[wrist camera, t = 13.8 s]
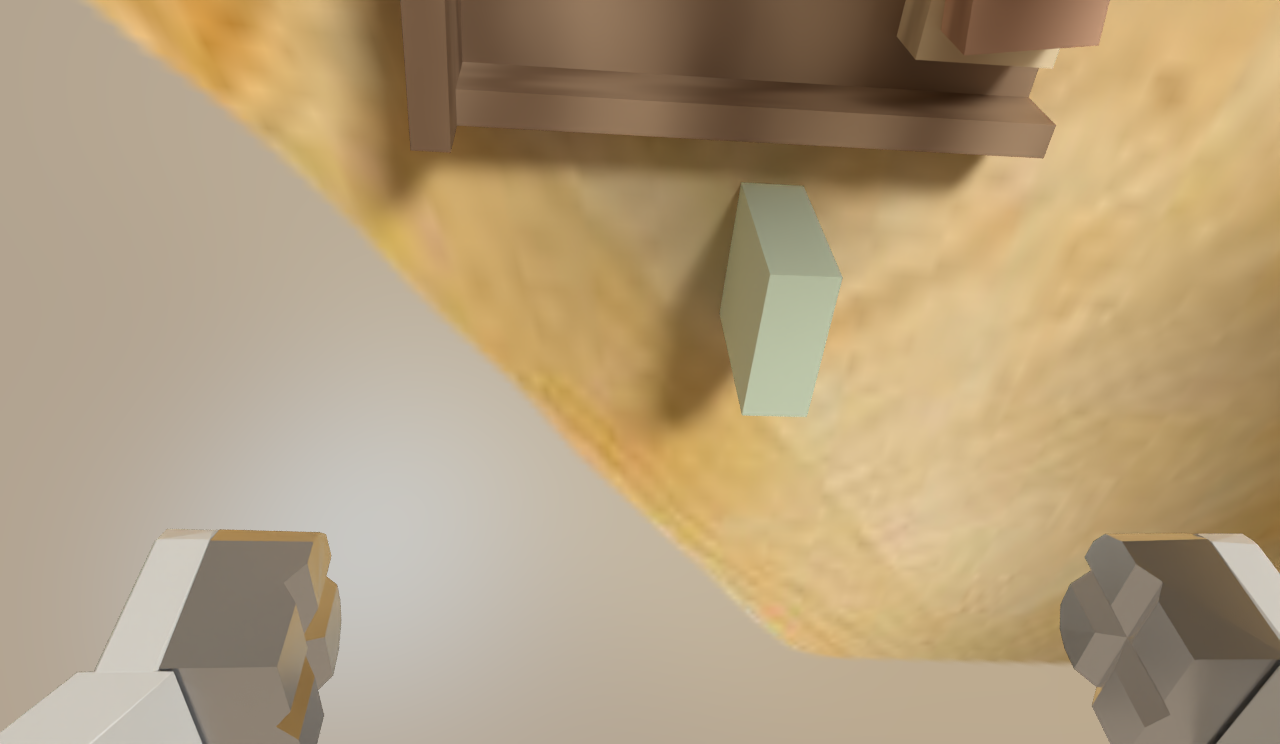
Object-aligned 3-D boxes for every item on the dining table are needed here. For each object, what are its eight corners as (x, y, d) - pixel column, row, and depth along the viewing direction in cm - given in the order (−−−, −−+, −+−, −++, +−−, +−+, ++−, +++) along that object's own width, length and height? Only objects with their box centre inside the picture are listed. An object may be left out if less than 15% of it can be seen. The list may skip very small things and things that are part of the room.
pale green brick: (803, 185, 36) (842, 277, 31) (775, 315, 39) (806, 416, 34) (740, 182, 35) (770, 274, 30) (719, 313, 39) (741, 415, 34)
